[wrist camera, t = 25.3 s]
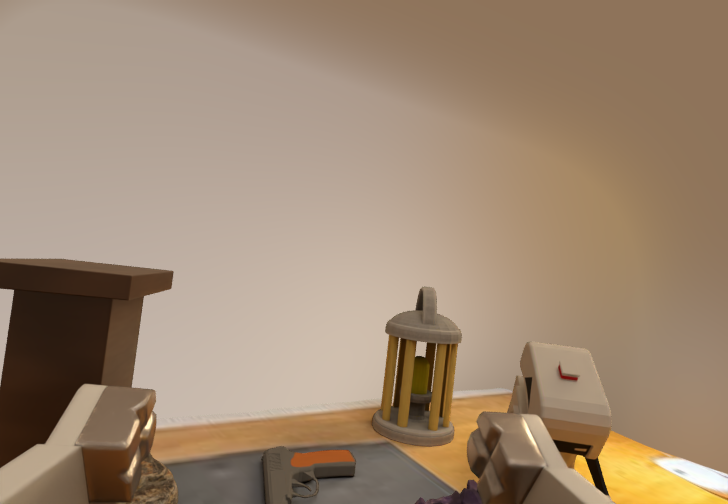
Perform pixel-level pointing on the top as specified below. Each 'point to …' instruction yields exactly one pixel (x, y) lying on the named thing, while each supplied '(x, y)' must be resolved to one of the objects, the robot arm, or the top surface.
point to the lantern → (419, 376)
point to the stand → (66, 339)
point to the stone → (155, 484)
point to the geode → (458, 496)
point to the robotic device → (565, 402)
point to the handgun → (301, 471)
